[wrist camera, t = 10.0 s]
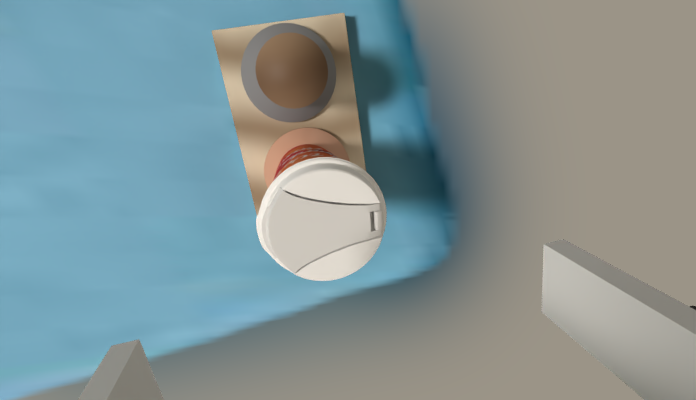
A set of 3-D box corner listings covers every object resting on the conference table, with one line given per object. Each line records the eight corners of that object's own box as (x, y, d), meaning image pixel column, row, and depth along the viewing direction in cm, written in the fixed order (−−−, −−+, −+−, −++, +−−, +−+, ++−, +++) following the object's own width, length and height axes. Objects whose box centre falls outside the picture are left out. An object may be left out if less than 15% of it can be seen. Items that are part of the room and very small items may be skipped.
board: (214, 32, 31) (211, 30, 29) (341, 15, 32) (344, 12, 31) (259, 219, 36) (258, 223, 35) (367, 197, 37) (370, 201, 36)
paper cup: (345, 127, 33) (389, 153, 20) (351, 207, 36) (395, 277, 22) (257, 136, 32) (244, 170, 19) (270, 218, 34) (265, 299, 21)
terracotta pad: (255, 135, 32) (254, 136, 32) (342, 120, 33) (343, 120, 33) (274, 218, 35) (274, 220, 35) (355, 202, 36) (356, 203, 36)
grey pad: (231, 30, 30) (230, 29, 29) (327, 17, 31) (328, 16, 30) (253, 128, 32) (253, 129, 32) (341, 113, 33) (342, 114, 33)
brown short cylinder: (253, 47, 30) (247, 38, 24) (313, 38, 31) (321, 27, 25) (266, 109, 32) (264, 114, 26) (323, 99, 32) (333, 102, 27)
